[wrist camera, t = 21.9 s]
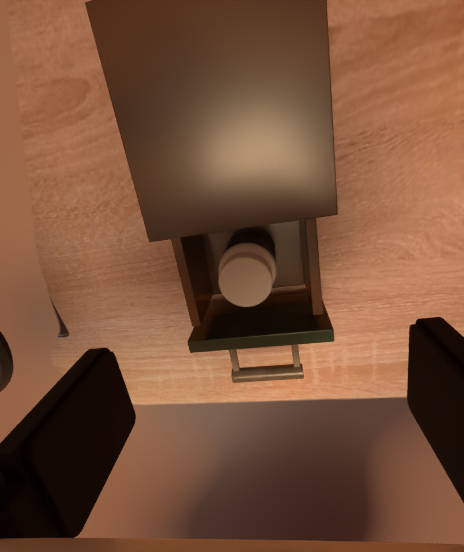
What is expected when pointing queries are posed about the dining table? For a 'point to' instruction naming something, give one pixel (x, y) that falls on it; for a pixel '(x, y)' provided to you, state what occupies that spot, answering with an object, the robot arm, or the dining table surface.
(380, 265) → the dining table surface
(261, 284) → the pill bottle
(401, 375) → the dining table surface
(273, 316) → the drawer
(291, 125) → the cabinet
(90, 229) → the dining table surface
